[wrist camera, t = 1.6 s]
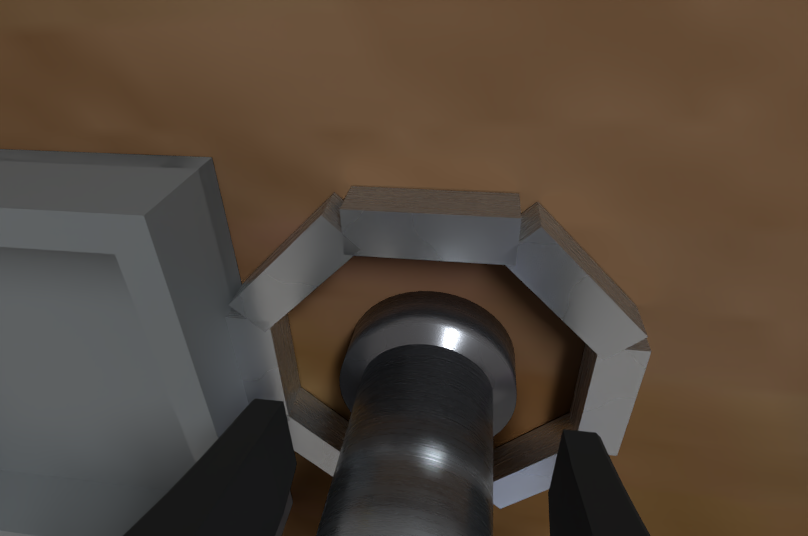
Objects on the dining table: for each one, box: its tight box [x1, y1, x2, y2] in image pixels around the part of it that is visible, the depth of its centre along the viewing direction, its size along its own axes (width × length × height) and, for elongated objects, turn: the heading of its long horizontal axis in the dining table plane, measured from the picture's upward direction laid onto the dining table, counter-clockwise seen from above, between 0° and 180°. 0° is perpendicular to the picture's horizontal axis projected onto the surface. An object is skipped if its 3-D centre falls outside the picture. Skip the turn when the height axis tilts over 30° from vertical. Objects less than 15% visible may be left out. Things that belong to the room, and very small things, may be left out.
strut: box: [316, 291, 517, 536], centre depth 10 cm, size 4×4×7 cm
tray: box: [0, 149, 293, 536], centre depth 14 cm, size 12×12×2 cm
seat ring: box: [226, 186, 651, 509], centre depth 12 cm, size 9×9×1 cm
